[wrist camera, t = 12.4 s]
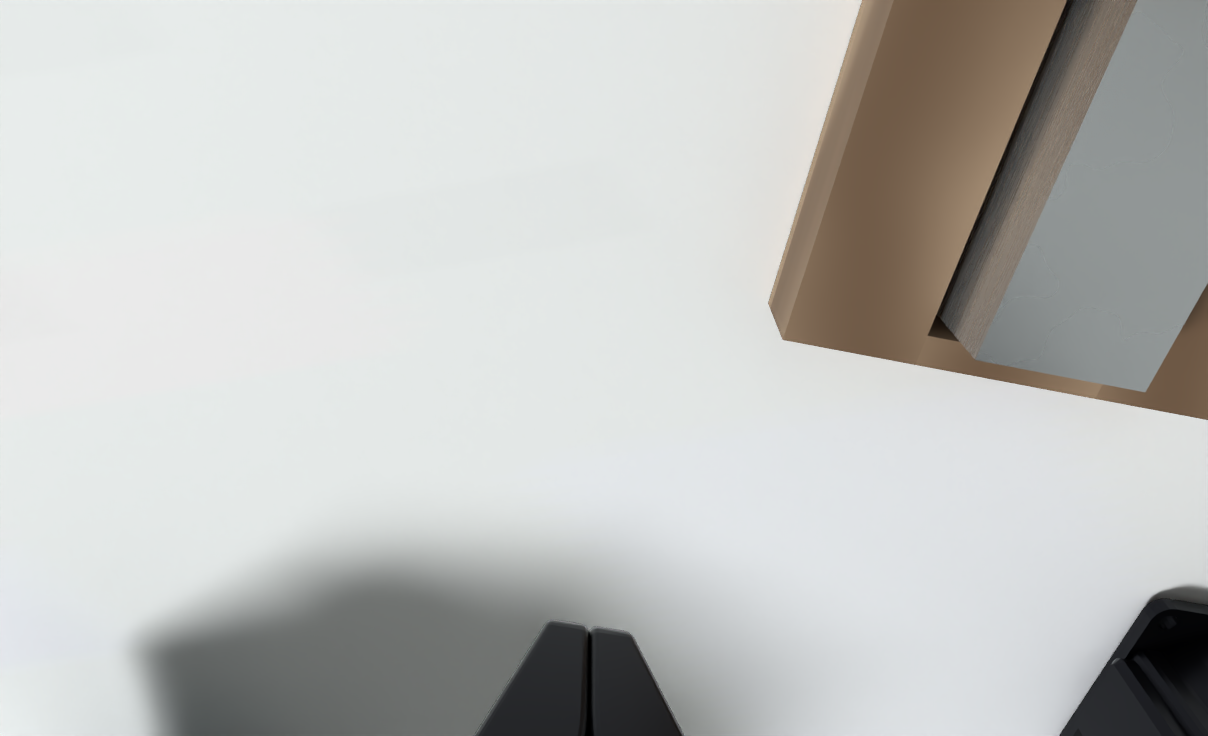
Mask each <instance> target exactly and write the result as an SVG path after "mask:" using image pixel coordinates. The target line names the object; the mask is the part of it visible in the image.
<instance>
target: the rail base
mask: <svg viewBox="0 0 1208 736" xmlns="http://www.w3.org/2000/svg"><path fill="white" fill-rule="evenodd" d="M1066 1H1067V0H862V3H861V6H860V9H859V13H858V16H857V19H856V22H855V25H854V29H853V32H852V35H851V38H850V42H849V45H848V48H847V51H846V54H845V58H844V61H843V64H842V67H841V70H840V74H839V77H838V80H837V83H836V87H835V90H834V93H833V96H832V99H831V103H830V106H829V109H828V112H827V116H826V119H825V122H824V125H823V128H822V132H821V135H820V138H819V141H818V144H817V148H816V151H815V154H814V157H813V161H812V164H811V167H810V170H809V173H808V177H807V180H806V183H805V186H804V190H803V193H802V196H801V199H800V202H799V206H798V209H797V212H796V215H795V218H794V222H793V225H792V228H791V231H790V235H789V238H788V241H787V244H786V247H785V251H784V254H783V257H782V260H781V264H780V267H779V270H778V273H777V276H776V280H775V283H774V286H773V289H772V292H771V296H770V299H769V302H768V304H769V306H770V309H771V311H772V314H773V316H774V319H775V321H776V324H777V327H778V329H779V332H780V334H781V337H782V339H783V340H787V341H792V342H797V343H803V344H808V345H813V346H819V347H824V348H829V349H835V350H840V351H845V352H850V353H856V354H861V355H866V356H872V357H877V358H882V359H888V360H893V361H898V362H903V363H909V364H914V365H919V366H925V367H930V368H935V369H941V370H946V371H951V372H956V373H962V374H967V375H972V376H978V377H983V378H988V379H994V380H999V381H1004V382H1009V383H1015V384H1020V385H1025V386H1031V387H1036V388H1041V389H1047V390H1052V391H1057V392H1063V393H1068V394H1073V395H1078V396H1084V397H1089V398H1094V399H1100V400H1105V401H1110V402H1116V403H1121V404H1126V405H1131V406H1137V407H1142V408H1147V409H1153V410H1158V411H1163V412H1169V413H1174V414H1179V415H1184V416H1190V417H1195V418H1200V419H1206V420H1208V283H1207V285H1206V287H1205V289H1204V290H1203V292H1202V294H1201V296H1200V297H1199V299H1198V301H1197V303H1196V304H1195V306H1194V308H1193V310H1192V311H1191V313H1190V315H1189V317H1188V318H1187V320H1186V322H1185V324H1184V325H1183V327H1182V329H1181V331H1180V332H1179V334H1178V336H1177V338H1176V339H1175V341H1174V343H1173V345H1172V346H1171V348H1170V350H1169V352H1168V353H1167V355H1166V357H1165V359H1164V360H1163V362H1162V364H1161V366H1160V368H1159V369H1158V371H1157V373H1156V375H1155V376H1154V378H1153V380H1152V382H1151V383H1150V385H1149V387H1148V389H1147V390H1146V392H1141V391H1136V390H1130V389H1125V388H1120V387H1115V386H1109V385H1104V384H1099V383H1093V382H1088V381H1083V380H1078V379H1072V378H1067V377H1062V376H1057V375H1051V374H1046V373H1041V372H1036V371H1030V370H1025V369H1020V368H1015V367H1009V366H1004V365H999V364H993V363H988V362H983V361H978V360H975V359H974V358H973V357H972V356H971V355H970V353H969V352H968V351H967V350H966V349H965V347H964V346H963V345H962V344H961V343H960V341H959V340H958V339H957V338H956V337H955V335H954V334H953V333H952V332H951V331H950V329H949V328H948V327H947V326H946V325H945V323H944V322H943V321H942V320H941V319H940V317H939V316H938V315H937V312H938V309H939V307H940V305H941V302H942V300H943V297H944V295H945V292H946V290H947V288H948V285H949V283H950V280H951V278H952V276H953V273H954V271H955V268H956V266H957V264H958V261H959V259H960V256H961V254H962V252H963V249H964V247H965V244H966V242H967V240H968V237H969V235H970V232H971V230H972V228H973V225H974V223H975V220H976V218H977V215H978V213H979V211H980V208H981V206H982V203H983V201H984V199H985V196H986V194H987V191H988V189H989V187H990V184H991V182H992V179H993V177H994V175H995V172H996V170H997V167H998V165H999V163H1000V160H1001V158H1002V155H1003V153H1004V151H1005V148H1006V146H1007V143H1008V141H1009V139H1010V136H1011V134H1012V131H1013V129H1014V126H1015V124H1016V122H1017V119H1018V117H1019V114H1020V112H1021V110H1022V107H1023V105H1024V102H1025V100H1026V98H1027V95H1028V93H1029V90H1030V88H1031V86H1032V83H1033V81H1034V78H1035V76H1036V74H1037V71H1038V69H1039V66H1040V64H1041V62H1042V59H1043V57H1044V54H1045V52H1046V49H1047V47H1048V45H1049V42H1050V40H1051V37H1052V35H1053V33H1054V30H1055V28H1056V25H1057V23H1058V21H1059V18H1060V16H1061V13H1062V11H1063V9H1064V6H1065V4H1066Z"/></svg>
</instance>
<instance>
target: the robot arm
mask: <svg viewBox="0 0 1208 736" xmlns="http://www.w3.org/2000/svg"><path fill="white" fill-rule="evenodd" d="M474 736H684V734H683V733H682V731H681V729H680V727H679V725H678V723H677V721H676V719H675V717H674V715H673V713H672V711H671V709H670V707H669V705H668V703H667V701H666V699H665V697H664V695H663V693H662V692H661V690H660V688H659V686H658V684H657V682H656V680H655V678H654V676H653V674H652V672H651V670H650V668H649V666H648V664H647V662H646V660H645V658H644V656H643V654H642V652H641V651H640V649H639V647H638V645H637V643H636V641H635V639H634V637H633V636H632V635H631V634H630V633H629V632H627V631H622V630H616V629H610V628H604V627H593V628H591V629H590V630H589V632H588V629H587V627H586V626H585V625H583V624H579V623H573V622H567V621H560V620H549V621H547V622H546V623H545V624H544V626H543V627H542V629H541V631H540V632H539V634H538V635H537V637H536V638H535V640H534V642H533V643H532V645H531V646H530V648H529V649H528V651H527V653H526V654H525V656H524V657H523V659H522V661H521V662H520V664H519V665H518V667H517V668H516V670H515V672H514V673H513V675H512V676H511V678H510V679H509V681H508V683H507V684H506V686H505V687H504V689H503V691H502V692H501V694H500V695H499V697H498V698H497V700H496V702H495V703H494V705H493V706H492V708H491V709H490V711H489V713H488V714H487V716H486V717H485V719H484V721H483V722H482V724H481V725H480V727H479V728H478V730H477V732H476V733H475V735H474ZM1060 736H1208V606H1207V605H1201V604H1196V603H1190V602H1184V601H1178V600H1172V599H1159V600H1155V601H1153V602H1151V603H1149V604H1148V605H1147V606H1146V607H1145V608H1144V609H1143V610H1142V612H1141V613H1140V615H1139V616H1138V618H1137V619H1136V621H1135V622H1134V624H1133V625H1132V627H1131V628H1130V630H1129V631H1128V633H1127V634H1126V636H1125V637H1124V639H1123V640H1122V642H1121V643H1120V645H1119V646H1118V648H1117V649H1116V651H1115V652H1114V654H1113V655H1112V657H1111V658H1110V660H1109V662H1108V663H1107V665H1106V666H1105V668H1104V669H1103V671H1102V672H1101V674H1100V675H1099V677H1098V678H1097V680H1096V681H1095V683H1094V684H1093V686H1092V687H1091V689H1090V690H1089V692H1088V693H1087V695H1086V696H1085V698H1084V699H1083V701H1082V702H1081V704H1080V705H1079V707H1078V708H1077V710H1076V711H1075V713H1074V714H1073V716H1072V717H1071V719H1070V721H1069V722H1068V724H1067V725H1066V727H1065V728H1064V730H1063V731H1062V733H1061V734H1060Z"/></svg>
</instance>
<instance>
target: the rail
mask: <svg viewBox="0 0 1208 736" xmlns="http://www.w3.org/2000/svg"><path fill="white" fill-rule="evenodd" d="M1207 283H1208V0H1067V1H1066V4H1065V6H1064V9H1063V11H1062V13H1061V16H1060V18H1059V21H1058V23H1057V25H1056V28H1055V30H1054V33H1053V35H1052V37H1051V40H1050V42H1049V45H1048V47H1047V49H1046V52H1045V54H1044V57H1043V59H1042V62H1041V64H1040V66H1039V69H1038V71H1037V74H1036V76H1035V78H1034V81H1033V83H1032V86H1031V88H1030V90H1029V93H1028V95H1027V98H1026V100H1025V102H1024V105H1023V107H1022V110H1021V112H1020V114H1019V117H1018V119H1017V122H1016V124H1015V126H1014V129H1013V131H1012V134H1011V136H1010V139H1009V141H1008V143H1007V146H1006V148H1005V151H1004V153H1003V155H1002V158H1001V160H1000V163H999V165H998V167H997V170H996V172H995V175H994V177H993V179H992V182H991V184H990V187H989V189H988V191H987V194H986V196H985V199H984V201H983V203H982V206H981V208H980V211H979V213H978V215H977V218H976V220H975V223H974V225H973V228H972V230H971V232H970V235H969V237H968V240H967V242H966V244H965V247H964V249H963V252H962V254H961V256H960V259H959V261H958V264H957V266H956V268H955V271H954V273H953V276H952V278H951V280H950V283H949V285H948V288H947V290H946V292H945V295H944V297H943V300H942V302H941V305H940V307H939V309H938V312H937V315H938V316H939V317H940V319H941V320H942V321H943V322H944V323H945V325H946V326H947V327H948V328H949V329H950V331H951V332H952V333H953V334H954V335H955V337H956V338H957V339H958V340H959V341H960V343H961V344H962V345H963V346H964V347H965V349H966V350H967V351H968V352H969V353H970V355H971V356H972V357H973V358H974V359H975V360H978V361H983V362H988V363H993V364H999V365H1004V366H1009V367H1015V368H1020V369H1025V370H1030V371H1036V372H1041V373H1046V374H1051V375H1057V376H1062V377H1067V378H1072V379H1078V380H1083V381H1088V382H1093V383H1099V384H1104V385H1109V386H1115V387H1120V388H1125V389H1130V390H1136V391H1141V392H1146V390H1147V389H1148V387H1149V385H1150V383H1151V382H1152V380H1153V378H1154V376H1155V375H1156V373H1157V371H1158V369H1159V368H1160V366H1161V364H1162V362H1163V360H1164V359H1165V357H1166V355H1167V353H1168V352H1169V350H1170V348H1171V346H1172V345H1173V343H1174V341H1175V339H1176V338H1177V336H1178V334H1179V332H1180V331H1181V329H1182V327H1183V325H1184V324H1185V322H1186V320H1187V318H1188V317H1189V315H1190V313H1191V311H1192V310H1193V308H1194V306H1195V304H1196V303H1197V301H1198V299H1199V297H1200V296H1201V294H1202V292H1203V290H1204V289H1205V287H1206V285H1207Z"/></svg>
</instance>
